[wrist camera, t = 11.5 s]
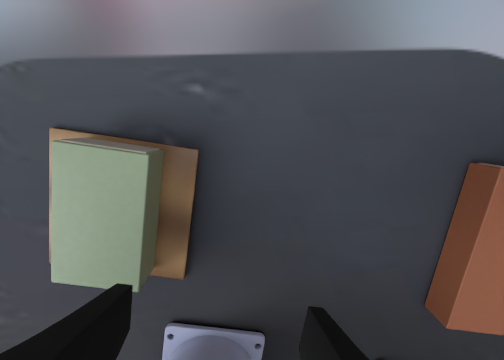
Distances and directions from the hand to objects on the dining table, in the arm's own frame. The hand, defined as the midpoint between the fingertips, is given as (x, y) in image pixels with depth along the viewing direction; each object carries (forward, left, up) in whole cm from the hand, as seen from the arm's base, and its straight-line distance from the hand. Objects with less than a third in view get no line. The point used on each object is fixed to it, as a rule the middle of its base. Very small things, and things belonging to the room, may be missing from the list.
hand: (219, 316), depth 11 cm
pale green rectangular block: (+1, +8, -9) cm, 12 cm away
